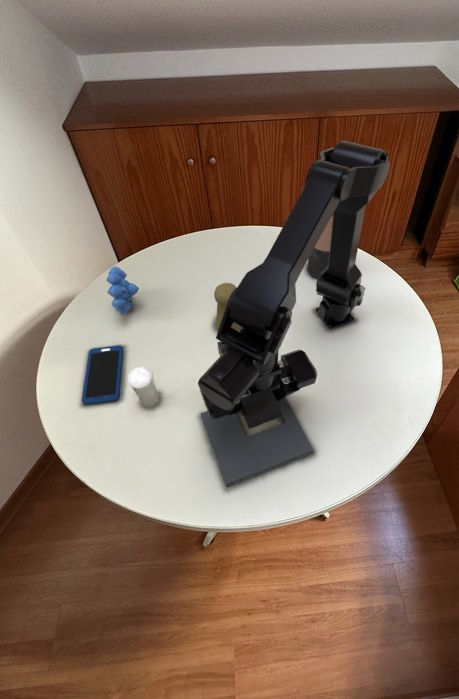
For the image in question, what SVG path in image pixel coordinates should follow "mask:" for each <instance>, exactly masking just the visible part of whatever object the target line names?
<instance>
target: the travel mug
mask: <svg viewBox="0 0 459 699" xmlns="http://www.w3.org/2000/svg"><path fill="white" fill-rule="evenodd" d="M332 221H333V215H332V216H331V218H330V220H329V222H328V224H327V226H326V227H325V229H324V231H323V233H322V235H321V237H320V238H319V240H318V242H317V244H316V246H315V248H314V250H313V251H312V253H311V255H310V257H309V259H308V261H307V266H306V267H307V269H306V270H307V273H308V274H309V276H311V277H312V278H314V279H316V280H317V279H318V277H319V275H320V273H321V272H322V271H323V270H324V269H325V268H326V266H327V265H328V263H329V253H330V243H331V232H332Z"/></svg>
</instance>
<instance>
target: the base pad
mask: <svg viewBox="0 0 459 699" xmlns="http://www.w3.org/2000/svg"><path fill="white" fill-rule="evenodd" d="M278 403H279V405H280V407H281V408H280V417H279V418H280V419H281V421H282V423H281V424H278V425H275V426H273V427H269V428H267V429H265V430H262V431H259V432H256V433H253V434H250V435H249V436H247V435H246V432H245V431H244V428H243V425H242V423H241V421H240V419H239V415H237V414H233V415H226V416H223V417H220V418H217V419H215V420H214V419H212V418H210V416H209V414H208V411H207V410H206V411H203V412H200V417H201V420H202V422H203V425H204V428H205V431H206V433H207V436H208V439H209V442H210V444H211V448H212V450H213V453H214V457H215V459H216V461H217V465H218V467H219V469H220V470H219V471H220V472H221V475H222V478H223V481H224V484H225V487H227V488H228V487H230V486H233V485H236V484H238V483H241V482H243V481H246V480H249V479H250V478H253V477H256V476H258V475H261V474H263V473H265V472H268V471H271V470H273V469H275V468H279V467H282V466H284V465H286V464H288V463H292V462H293V461H297V460H299V459H301V458H303V457H307V456H308V455H311V454H313V453H314V447H313V446H312V444H311V442H310V440H309V438H308V436H307V435H306V433H305V431H304V429H303V427H302V425H301V424H300V421H299V420H298V418H297V416H296V415H295V412H294V411H293V409H292V406H291V405H290V403H289V401H288V400H287V397H286V398H284V399H283V400H281V401H280V402H278Z"/></svg>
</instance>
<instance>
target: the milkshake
mask: <svg viewBox="0 0 459 699" xmlns="http://www.w3.org/2000/svg"><path fill="white" fill-rule="evenodd" d="M127 383H128V385H129V386H130V387H131V389H132V391H134V393H135V395H136V396H137V398H138V399H139V401H140V402H141V403H142V405H143V406H145V407H146V408H152V407H154V406H156V405H157V404H158V402H159V400H160V399H159V395H158V391H157V386H156V382H155V377H154V372H153V371H152V369H150V368H148V367H147V366H138V367H135V368H134V369H132V370H131V372H130V373H129V374H128V376H127Z"/></svg>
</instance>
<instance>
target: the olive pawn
mask: <svg viewBox="0 0 459 699" xmlns="http://www.w3.org/2000/svg"><path fill="white" fill-rule="evenodd" d="M237 287H238V286H236V285H235V284H234V283H231V282H223V283H220V284H219V285H217V286H216V288H215V289H214V291H213V292H214V293H213V298H214V301H215V302H216V304H217V305H216V317H215V320H216V321H215V328H216V330H217V331H218V330H219V327H220V324H221V321H222V318H223V315H224V312H225V309H226V306H227V303H228V300H229V298H230V295H231V294H232V292H233V291H234V290H235V289H236V288H237ZM231 328H233V329H235V330H237V331H239V332H240V330H241V329H242V327H241V326H239V325H237V324H235V323H233V324H232V326H231Z"/></svg>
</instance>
